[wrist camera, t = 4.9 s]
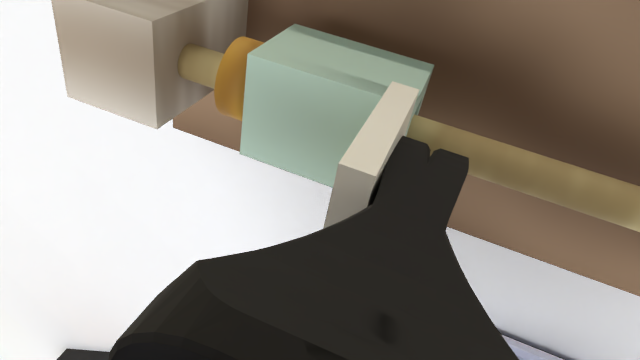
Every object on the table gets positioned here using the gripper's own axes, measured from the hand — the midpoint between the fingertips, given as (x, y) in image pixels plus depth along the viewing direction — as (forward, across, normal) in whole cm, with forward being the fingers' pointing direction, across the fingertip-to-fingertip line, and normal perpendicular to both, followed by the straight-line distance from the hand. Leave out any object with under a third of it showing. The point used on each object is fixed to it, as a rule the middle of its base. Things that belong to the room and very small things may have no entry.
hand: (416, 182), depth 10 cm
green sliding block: (+3, +3, 0) cm, 4 cm away
